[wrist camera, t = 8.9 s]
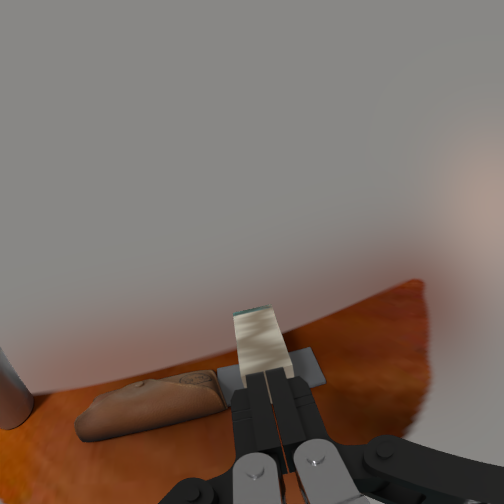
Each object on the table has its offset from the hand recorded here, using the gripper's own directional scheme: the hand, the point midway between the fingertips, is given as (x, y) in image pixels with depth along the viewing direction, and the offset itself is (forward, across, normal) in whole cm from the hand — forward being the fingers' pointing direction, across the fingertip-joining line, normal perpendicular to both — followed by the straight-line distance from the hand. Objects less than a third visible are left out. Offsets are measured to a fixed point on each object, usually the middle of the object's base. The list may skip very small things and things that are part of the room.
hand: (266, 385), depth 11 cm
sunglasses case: (+14, +14, +17) cm, 26 cm away
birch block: (+12, 0, +14) cm, 18 cm away
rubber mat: (+16, 0, +17) cm, 23 cm away
